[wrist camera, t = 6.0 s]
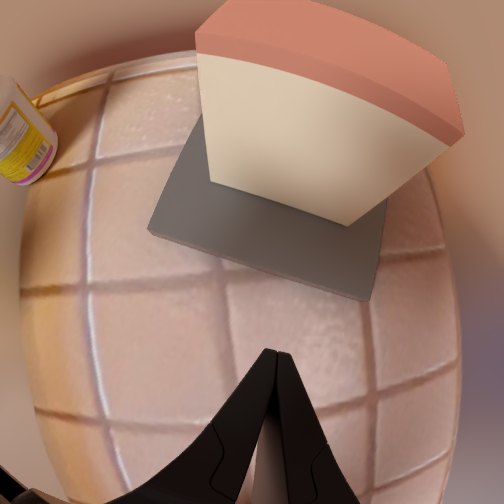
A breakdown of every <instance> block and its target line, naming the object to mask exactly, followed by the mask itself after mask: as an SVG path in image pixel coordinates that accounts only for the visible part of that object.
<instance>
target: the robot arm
mask: <svg viewBox="0 0 504 504" xmlns="http://www.w3.org/2000/svg"><path fill="white" fill-rule="evenodd" d="M257 441H258V445H257V455H256V465H255V475H254V484H253V493H252V502H251V504H360V502H359V501H358V499H357V497H356V496H355V494H354V492H353V491H352V489H351V487H350V486H349V484H348V483H347V481H346V479H345V477H344V475H343V474H342V472H341V470H340V468H339V466H338V464H337V462H336V460H335V458H334V456H333V453H332V451H331V449H330V446H329V444H327V439H326V437H325V435H324V432H323V430H322V428H321V425H320V423H319V420H318V418H317V416H316V413H315V411H314V409H313V406H312V404H311V401H310V399H309V397H308V394H307V392H306V390H305V387H304V385H303V382H302V380H301V378H300V375H299V373H298V370H297V368H296V366H295V363H294V361H293V358H292V356H291V354H289V353H285V352H281V351H279V352H277V351H276V350H272V349H268V348H265V349H264V350H263V351H262V353H261V354H260V356H259V357H258V358H257V360H256V361H255V363H254V364H253V365H252V367H251V368H250V370H249V371H248V372H247V374H246V375H245V377H244V378H243V379H242V381H241V382H240V383H239V385H238V386H237V387H236V389H235V390H234V391H233V393H232V394H231V395H230V397H229V398H228V399H227V401H226V402H225V403H224V405H223V406H222V407H221V409H220V410H219V411H218V412H217V414H216V415H215V416H214V418H213V419H212V420H211V422H210V423H209V424H208V425H207V426H206V427H205V429H204V430H203V431H202V432H201V434H200V435H199V436H198V437H197V438H196V439H195V440H194V441H193V443H192V444H191V445H190V446H189V447H187V448H186V449H185V450H184V451H183V452H182V453H181V454H180V455H179V456H178V457H177V458H175V459H174V460H173V461H172V462H171V463H169V464H168V465H167V466H166V467H165V468H163V469H162V470H161V471H160V472H158V473H157V474H156V475H155V476H153V477H152V478H151V479H150V480H148V481H147V482H145V483H144V484H142V485H141V486H139V487H138V488H136V489H134V490H133V491H131V492H129V493H127V494H125V495H123V496H120V497H118V498H116V499H114V500H112V501H109V502H107V503H105V504H235V502H236V501H237V498H238V495H239V493H240V490H241V487H242V484H243V482H244V479H245V476H246V473H247V470H248V468H249V465H250V462H251V459H252V456H253V453H254V450H255V447H256V444H257ZM0 504H70V503H68V502H65V501H62V500H60V499H58V498H55V497H53V496H50V495H48V494H45V493H44V492H41V491H39V490H37V489H34V488H31V489H28V488H27V487H25V486H24V485H23V484H22V483H20V482H19V481H18V480H17V479H16V478H15V477H13V476H12V475H11V474H10V473H9V472H8V471H7V470H5V469H4V468H3V467H2V466H1V465H0Z"/></svg>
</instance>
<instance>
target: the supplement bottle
mask: <svg viewBox="0 0 504 504" xmlns="http://www.w3.org/2000/svg"><path fill="white" fill-rule="evenodd" d="M57 147H58V136H57V133H56V131H55V130H54V129H53V127H52V126H51V125H50V124H49V123H48V121H47V120H46V119H45V118H44V117H43V115H42V114H41V113H40V112H39V110H38V109H37V108H36V107H35V105H34V104H33V103H32V102H31V100H30V99H29V98H28V97H27V95H26V94H25V93H24V92H23V90H22V89H21V88H20V86H19V85H18V83H17V82H16V81H15V80H14V78H13V77H12V76H10V75H8V74H1V75H0V174H2V175H3V176H5V177H6V178H7V179H9V180H10V181H12V182H13V183H15V184H17V185H20V186H25V185H29V184H31V183H33V182H34V181H36V180H37V179H38V178H40V177H41V176H42V175H43V174H44V173H45V171H46V170H47V169H48V168H49V166H50V165H51V163H52V161H53V159H54V157H55V154H56V151H57Z"/></svg>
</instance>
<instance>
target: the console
mask: <svg viewBox="0 0 504 504" xmlns="http://www.w3.org/2000/svg"><path fill="white" fill-rule="evenodd" d="M386 205H387V198H385V199H384V200H383V201H381V202H380V203H379V204H377V205H376V206H375V207H373V208H372V209H371V210H369V211H368V212H367V213H365V214H364V215H363V216H361V217H360V218H359V219H357V220H356V221H355V222H353V223H352V224H351V225H349V226H348V227H347V226H344V225H342V224H339V223H336V222H334V221H331V220H328V219H325V218H322V217H320V216H317V215H314V214H311V213H308V212H306V211H303V210H300V209H297V208H294V207H291V206H288V205H285V204H282V203H279V202H276V201H273V200H270V199H267V198H264V197H261V196H257V195H254V194H251V193H248V192H245V191H242V190H238V189H235V188H232V187H228V186H225V185H222V184H218V183H215V182H212V181H210V173H209V165H208V157H207V149H206V141H205V132H204V123H203V114H201V116H200V117H199V119H198V121H197V123H196V125H195V127H194V128H193V130H192V132H191V134H190V136H189V138H188V140H187V142H186V144H185V146H184V148H183V150H182V152H181V154H180V156H179V158H178V160H177V162H176V164H175V166H174V168H173V170H172V172H171V174H170V177H169V179H168V181H167V183H166V185H165V187H164V190H163V192H162V194H161V196H160V199H159V201H158V203H157V206H156V208H155V210H154V213H153V215H152V218H151V220H150V223H149V225H148V227H147V230H148V231H149V232H150V233H151V234H152V235H154V236H157V237H160V238H163V239H166V240H169V241H172V242H175V243H178V244H181V245H184V246H187V247H190V248H193V249H196V250H199V251H202V252H205V253H209V254H212V255H215V256H218V257H221V258H224V259H227V260H230V261H233V262H236V263H239V264H242V265H245V266H249V267H252V268H255V269H258V270H261V271H264V272H267V273H270V274H274V275H277V276H280V277H283V278H286V279H289V280H293V281H296V282H299V283H302V284H305V285H309V286H312V287H315V288H318V289H321V290H325V291H328V292H331V293H334V294H338V295H341V296H344V297H347V298H351V299H354V300H357V301H370V298H371V293H372V289H373V284H374V279H375V275H376V269H377V264H378V259H379V253H380V247H381V241H382V235H383V228H384V221H385V213H386Z"/></svg>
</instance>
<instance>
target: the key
mask: <svg viewBox="0 0 504 504" xmlns="http://www.w3.org/2000/svg"><path fill="white" fill-rule="evenodd" d="M195 39H196V52H197V63H198V74H199V85H200V95H201V105H202V114H203V123H204V132H205V141H206V149H207V157H208V165H209V173H210V181H212V182H215V183H218V184H222V185H225V186H228V187H232V188H235V189H238V190H242V191H245V192H248V193H251V194H254V195H257V196H261V197H264V198H267V199H270V200H273V201H276V202H279V203H282V204H285V205H288V206H291V207H294V208H297V209H300V210H303V211H306V212H308V213H311V214H314V215H317V216H320V217H322V218H325V219H328V220H331V221H334V222H336V223H339V224H342V225H344V226H347V227H348V226H349V225H351V224H352V223H353V222H355V221H356V220H357V219H359V218H360V217H361V216H363V215H364V214H365V213H367V212H368V211H369V210H371V209H372V208H373V207H375V206H376V205H377V204H379V203H380V202H381V201H383V200H384V199H385V198H387V197H388V196H389V195H390V194H392V193H393V192H394V191H396V190H397V189H398V188H400V187H401V186H402V185H403V184H405V183H406V182H407V181H409V180H410V179H411V178H412V177H414V176H415V175H416V174H417V173H419V172H420V171H421V170H423V169H424V168H425V167H426V166H428V165H429V164H430V163H431V162H433V161H434V160H435V159H436V158H437V157H439V156H440V155H441V154H442V153H444V152H445V151H446V150H447V149H449V148H450V147H451V146H452V145H453V144H455V143H456V142H457V141H458V140H459V139H461V138H462V137H463V136H464V135H465V132H464V127H463V123H462V118H461V114H460V110H459V105H458V101H457V98H456V95H455V90H454V87H453V84H452V80H451V77H450V74H449V71H448V68H447V65H446V63H444V62H443V61H441V60H440V59H438V58H436V57H435V56H433V55H432V54H430V53H428V52H427V51H425V50H424V49H422V48H420V47H419V46H417V45H415V44H413V43H412V42H410V41H408V40H406V39H404V38H402V37H400V36H398V35H396V34H394V33H393V32H390V31H388V30H386V29H384V28H382V27H380V26H378V25H375V24H373V23H371V22H369V21H366V20H364V19H362V18H359V17H357V16H354V15H351V14H349V13H346V12H343V11H340V10H338V9H335V8H332V7H329V6H326V5H323V4H319V3H316V2H313V1H309V0H227V1H226V2H225V3H224V4H223V5H222V6H221V7H220V8H219V9H218V10H217V11H216V12H215V13H214V14H213V15H212V16H211V17H209V18H208V19H207V21H205V23H204V24H203V25H202V26H201V27H200V28H199V29H198V30H197V31H196V32H195Z"/></svg>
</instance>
